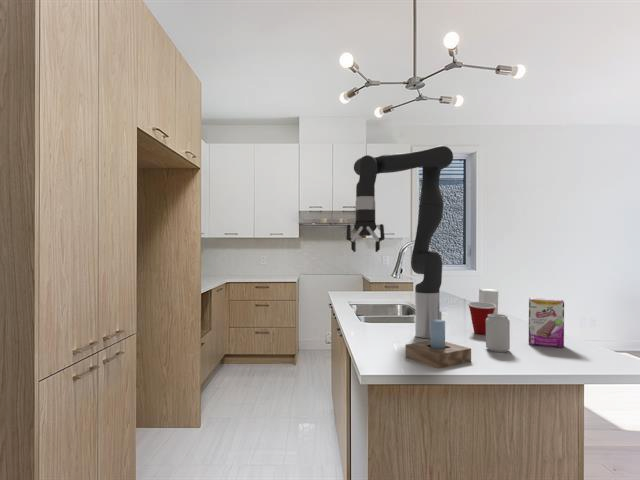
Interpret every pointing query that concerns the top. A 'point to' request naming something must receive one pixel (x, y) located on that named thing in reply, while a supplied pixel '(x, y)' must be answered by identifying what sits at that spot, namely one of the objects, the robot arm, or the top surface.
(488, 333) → the can
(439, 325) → the peg
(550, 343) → the candy bar box
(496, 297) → the skincare box
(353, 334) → the top surface
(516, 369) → the top surface
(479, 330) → the plastic cup
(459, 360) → the socket block
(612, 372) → the top surface
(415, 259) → the robot arm
